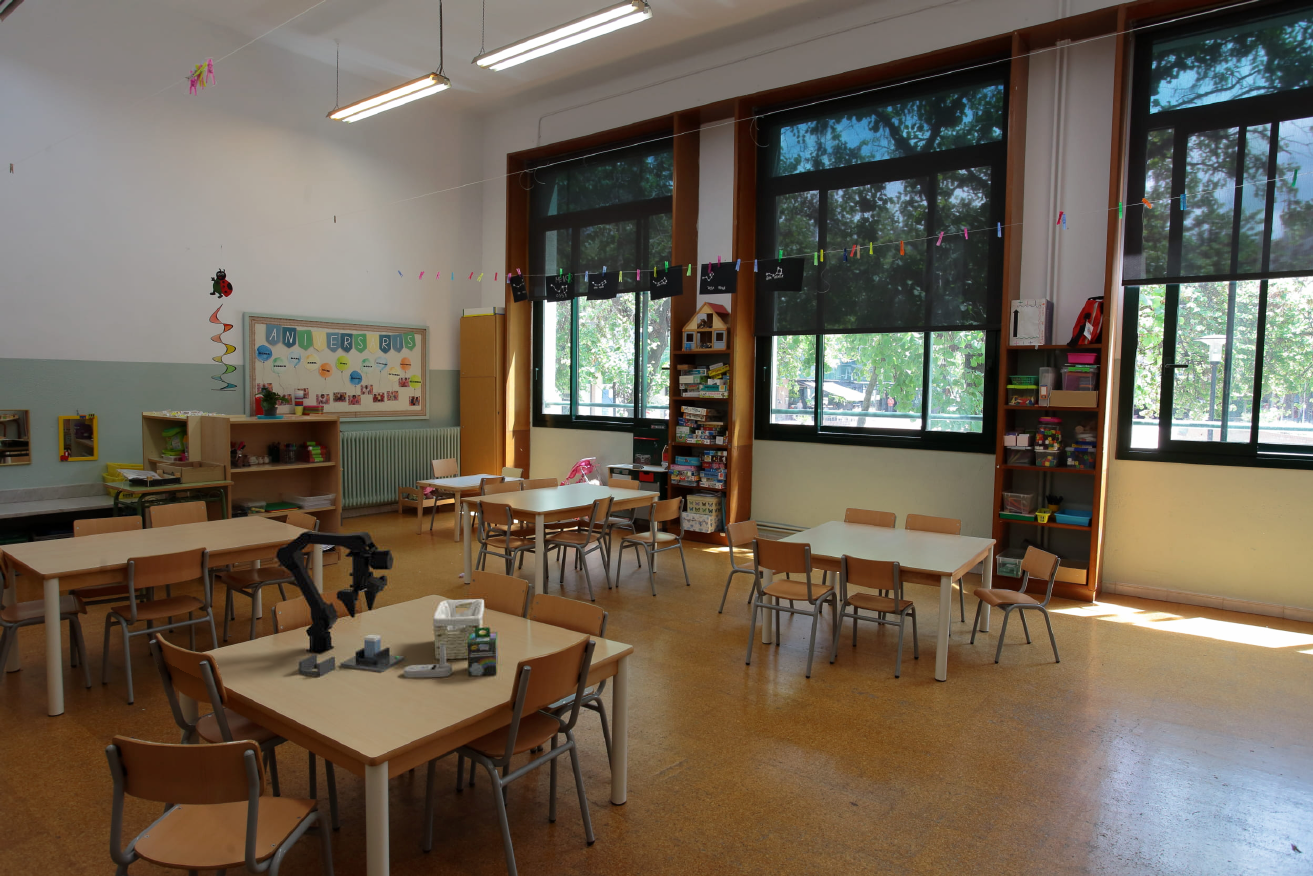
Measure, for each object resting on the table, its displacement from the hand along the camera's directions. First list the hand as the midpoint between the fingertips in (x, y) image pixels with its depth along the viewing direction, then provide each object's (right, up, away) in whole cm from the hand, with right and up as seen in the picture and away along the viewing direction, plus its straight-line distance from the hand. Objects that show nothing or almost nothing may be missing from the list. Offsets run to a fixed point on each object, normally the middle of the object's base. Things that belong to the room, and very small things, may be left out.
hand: (361, 613), depth 267 cm
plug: (+8, -13, -11) cm, 19 cm away
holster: (-7, -14, -19) cm, 25 cm away
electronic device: (+29, -15, -20) cm, 38 cm away
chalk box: (+46, -15, -17) cm, 51 cm away
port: (+8, -14, -11) cm, 19 cm away
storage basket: (+33, -14, +4) cm, 36 cm away
